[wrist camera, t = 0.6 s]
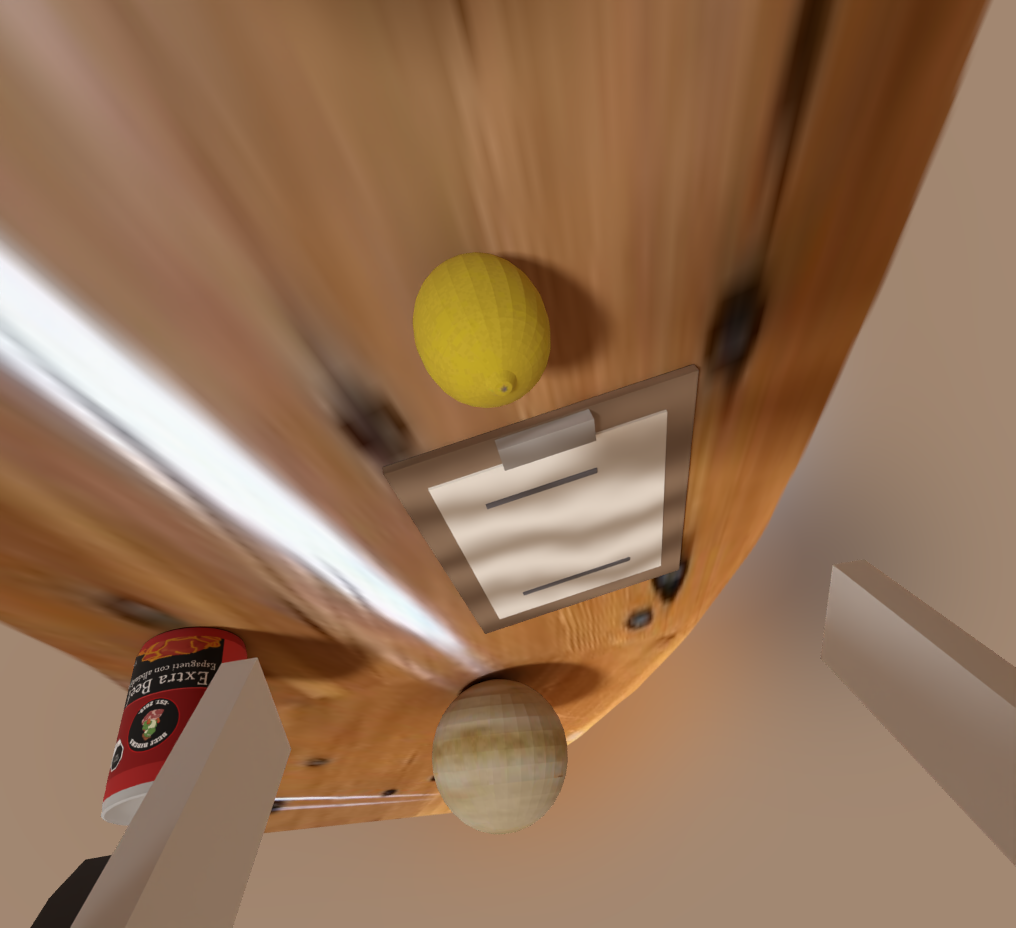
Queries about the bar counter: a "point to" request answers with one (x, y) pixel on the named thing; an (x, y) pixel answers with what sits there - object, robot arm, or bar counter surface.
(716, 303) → the bar counter surface
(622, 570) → the clipboard
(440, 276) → the lemon
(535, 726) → the decorative ball
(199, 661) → the canned food
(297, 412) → the bar counter surface
